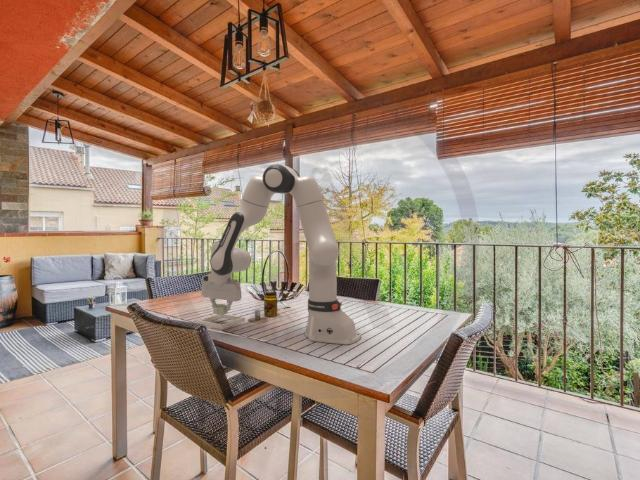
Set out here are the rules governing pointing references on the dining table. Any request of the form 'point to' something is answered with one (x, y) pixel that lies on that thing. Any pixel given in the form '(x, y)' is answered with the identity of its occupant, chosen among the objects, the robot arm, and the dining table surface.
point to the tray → (221, 326)
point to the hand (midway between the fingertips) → (221, 309)
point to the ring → (219, 309)
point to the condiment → (270, 304)
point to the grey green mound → (257, 318)
